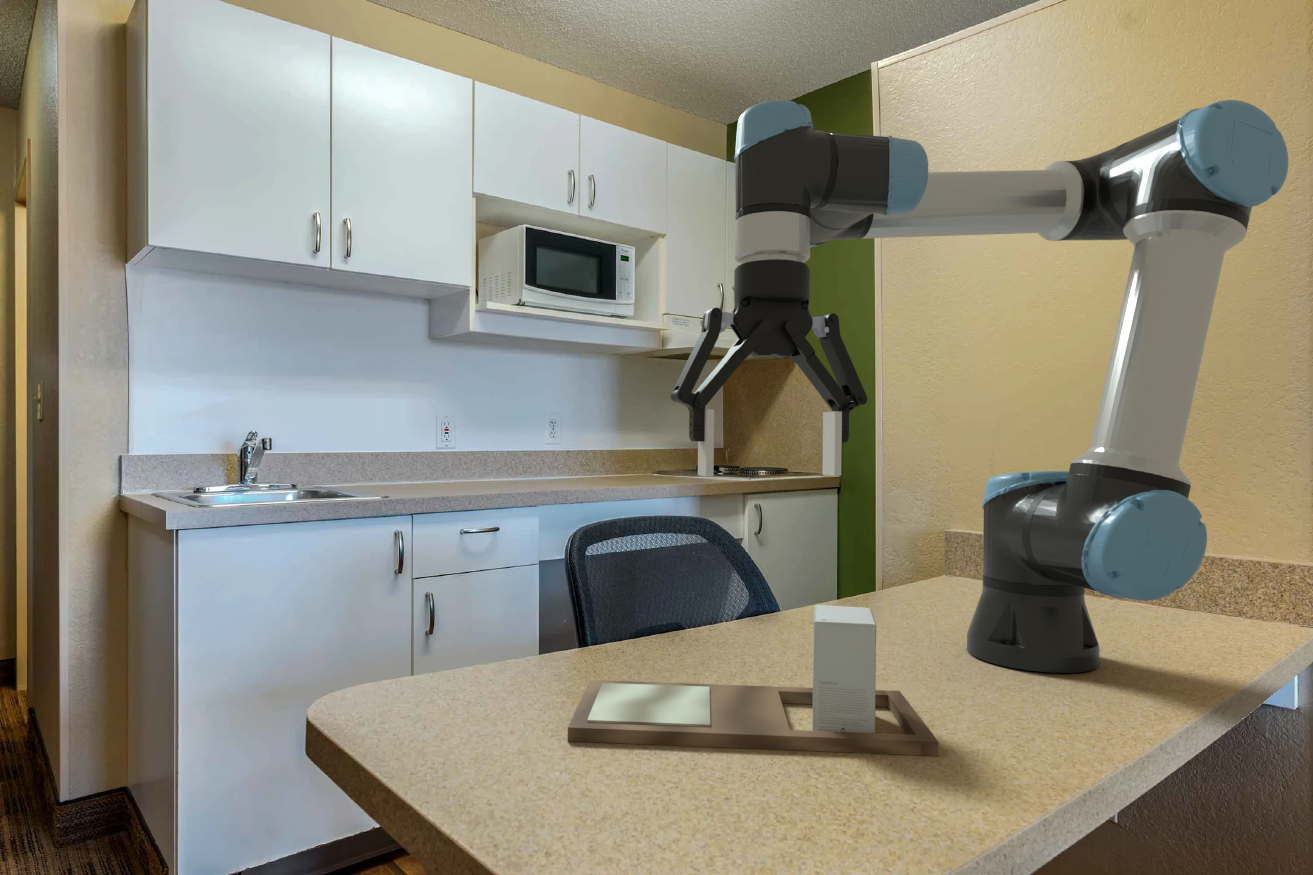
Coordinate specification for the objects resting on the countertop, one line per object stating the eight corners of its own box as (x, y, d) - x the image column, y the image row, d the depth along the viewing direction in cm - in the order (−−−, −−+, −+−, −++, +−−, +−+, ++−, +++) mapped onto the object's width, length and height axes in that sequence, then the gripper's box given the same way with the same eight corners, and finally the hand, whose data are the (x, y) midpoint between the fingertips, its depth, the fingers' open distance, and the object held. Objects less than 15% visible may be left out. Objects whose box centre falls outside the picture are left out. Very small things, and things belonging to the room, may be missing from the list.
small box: (875, 742, 73) (877, 624, 73) (811, 736, 74) (813, 620, 74) (870, 713, 81) (872, 606, 81) (812, 708, 82) (814, 603, 82)
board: (899, 702, 84) (899, 688, 84) (938, 755, 70) (938, 739, 70) (589, 691, 86) (589, 677, 86) (567, 740, 72) (567, 725, 72)
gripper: (865, 278, 89) (863, 473, 89) (642, 264, 83) (640, 474, 83) (902, 264, 82) (900, 476, 82) (661, 248, 75) (659, 478, 75)
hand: (769, 475), depth 82 cm, fingers open, 13 cm apart
